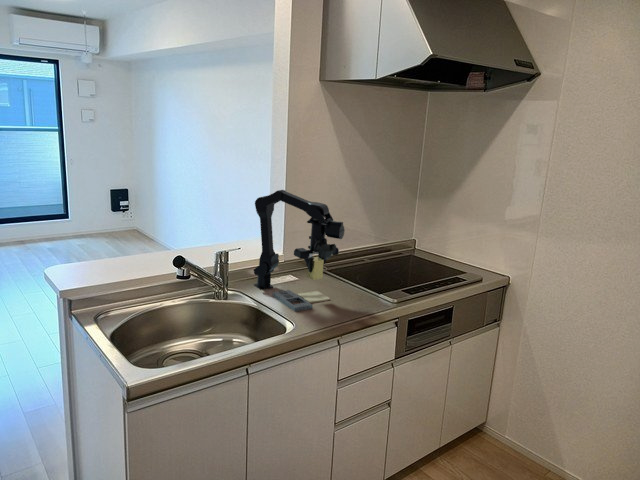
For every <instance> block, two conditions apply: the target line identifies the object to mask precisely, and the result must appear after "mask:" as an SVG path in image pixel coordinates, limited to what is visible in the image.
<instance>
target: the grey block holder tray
mask: <svg viewBox="0 0 640 480" xmlns="http://www.w3.org/2000/svg"><path fill="white" fill-rule="evenodd" d="M297 294H298V293H297ZM297 294H296V293H295V292H293V291H292V290H290V289H286V290H280V291H274V292H272V297H273V298H274V299H276V300H277V301H278V302H280V303H282V304H283V305H285V306H286V307H287V308H288V309H290V310H292V311H293V312H300V311H306V310H311V309H313V303H309V302H307V301H306V300H304V299H303V298H301V297H300V296H298V295H297ZM294 302H299V303H296V304H293V303H294Z"/></svg>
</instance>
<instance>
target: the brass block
mask: <svg viewBox="0 0 640 480" xmlns="http://www.w3.org/2000/svg"><path fill="white" fill-rule="evenodd" d="M313 258H314V260H313V261H312V271H311V273H310V272H309V270H308V269H307V275H306V276H307V277H308V278H309V279H310V280H313V281H314V280H315V281H316V280H322V279H323V276H324V275H323V274H324V266H323V264H324V260H323V259H321V258H319V257H318V256H316V257H313ZM324 265H325V264H324Z"/></svg>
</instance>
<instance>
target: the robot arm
mask: <svg viewBox="0 0 640 480" xmlns="http://www.w3.org/2000/svg"><path fill="white" fill-rule="evenodd" d="M280 202H282V203H285V204H287V205H289V206H292V207H294V208H296V209H299V210H302V211H304V212H305V213H306V214H307V216H309V217H310V218H309V219H308V220H307V221H306V223H307V224H311V228H310V229H311V231H310V235H309V236H308V240H310V243H309V244H310V245H308V246H307V249H306V248H304V247H300V248H299V247H297V248H295V249H294V250H293V256H295V257H297V258H299V259H301V260H304V262H305V263H306V264H305V265H306V267H307V271H308V270H309V272H310V273H311V271H312V261H313V260H314V257H313V255H317V257H319V258H321V259H323V260H324V264H323V267H324V266H325V263H326V262H327V260H328V259H329V258H332V257H333V256H338V255H339V254H340V250H339V248H338V247H337V245H336V244H335V243H331V244H330V243H329V244H328V240H327V238H332V239H338V240H342V239H343V238H344V236H345V225H344V221H335V220H334V218H333V216H332V215H331V213H330V208H329V207H328V204H326V203H322V202H317V201H310V200H307V199H304V198H302V197H300V196H297V195H295V194H293V193H292V192H288V191H286V190H285V189H279V190H276V191H274V192H273V193H270V194H268V195H264V196H260V197H257V198H256V200H255V201H254V206H255V207H254V208H255V212H256V214H257V215H258V217H259V221H260V223H259V224H260V236H261V237H260V238H261V239H260V241H261V253H260V256H259V260H258V261H259V264H258V266H257V267H255V268H253V273H254V275H255V276H257V278H256V283H253V286H254V287H256V288H257V289H259V290H265V289H273V288H274V286H273V285H271V278H272V277H271V276H272V275H271V273H273V272H275V269H276V268H278V266H279V263H280V260H279V255H280V254H279V253H276V252H275V249H274V240H273V225H272V224H273V223H272V221H273V220H272V216H273V213H274V209H275V204H278V203H280ZM326 237H327V238H326Z"/></svg>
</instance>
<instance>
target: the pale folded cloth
mask: <svg viewBox="0 0 640 480" xmlns="http://www.w3.org/2000/svg"><path fill="white" fill-rule="evenodd" d="M297 295H298V296H300V297H301V298H303V299H304V300H306V301H307V302H309V303H311V304H313V303H314V304H315V303H319V302H326V301H330V300H331V297H328V296H327V295H325V294H324V293H322V292H320V291H318V290H312V291H307V292H299V293H297Z"/></svg>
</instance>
